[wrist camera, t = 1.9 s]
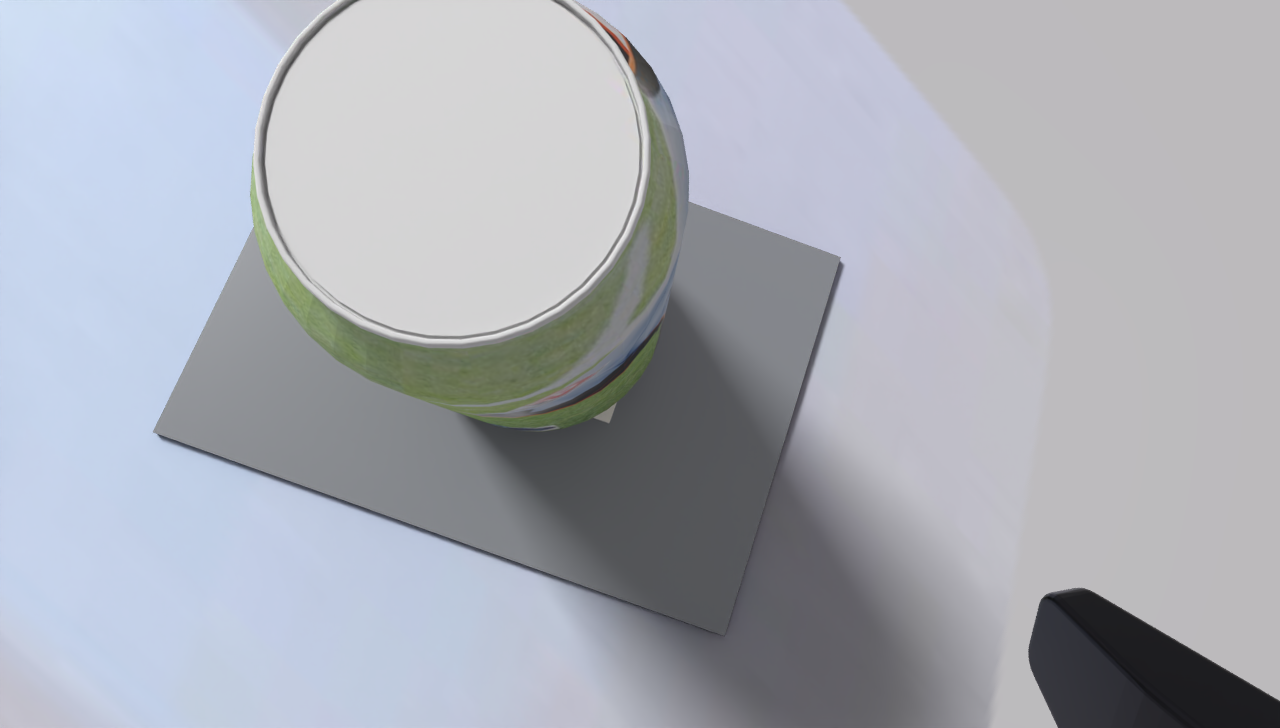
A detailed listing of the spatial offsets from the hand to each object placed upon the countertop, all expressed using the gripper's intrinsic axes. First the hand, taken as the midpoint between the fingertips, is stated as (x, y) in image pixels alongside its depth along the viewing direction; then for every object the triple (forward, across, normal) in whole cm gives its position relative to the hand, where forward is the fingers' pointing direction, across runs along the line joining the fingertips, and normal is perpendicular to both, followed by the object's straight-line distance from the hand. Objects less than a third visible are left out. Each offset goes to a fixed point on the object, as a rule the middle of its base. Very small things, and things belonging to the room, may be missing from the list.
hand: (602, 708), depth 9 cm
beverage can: (+14, 0, +4) cm, 15 cm away
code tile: (+14, 0, +4) cm, 15 cm away
